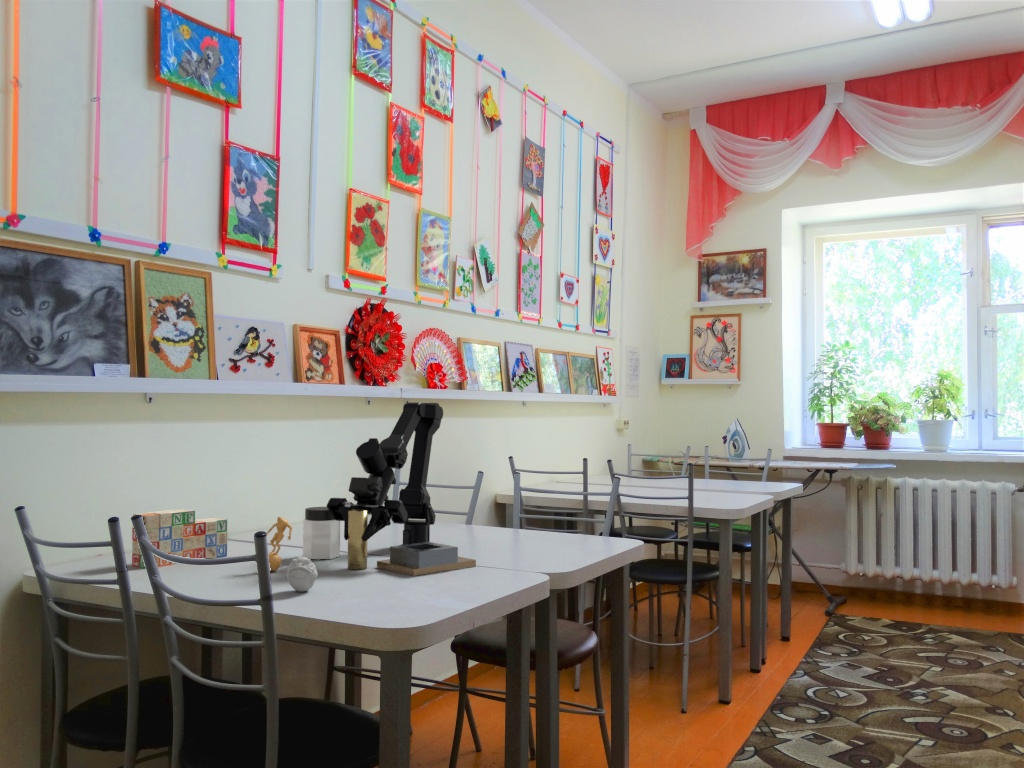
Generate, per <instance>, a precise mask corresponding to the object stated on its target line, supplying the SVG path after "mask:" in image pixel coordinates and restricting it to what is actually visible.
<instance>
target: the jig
mask: <svg viewBox="0 0 1024 768" xmlns="http://www.w3.org/2000/svg"><path fill="white" fill-rule="evenodd" d="M458 549H459V548H458V546H452V545H450V544H449V545H447V544H443V543H436V542H433V541H432V542H431V541H430V542H422V543H414V544H406V545H401V544H399V545H392V546H389V558H388V559H382V560H377V561H376V568H378V569H382V570H386V571H390V572H394V573H399V574H403V575H407V576H411V577H418V576H422V575H423V576H424V575H431V574H437V573H441V572H442V571H443V572H449V571H453V570H455V569H456V570H461V568H462V569H467V568H466V567H468V568H474V567H473V566H475V567H477V560H476V559H474V558H467V557H465V556H459V550H458ZM436 572H437V573H436Z"/></svg>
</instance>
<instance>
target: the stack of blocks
mask: <svg viewBox="0 0 1024 768" xmlns="http://www.w3.org/2000/svg"><path fill="white" fill-rule="evenodd" d="M134 515H141V516H142V517H143V522H144V525H145V527H146V530H147V534H148V538H149V540H150V542H151V543H152V545H153V546H154V547H156V548H157V549H159V550H160V551H163V552H165V553H168V554H172V555H177V556H182V557H190V558H212V559H216V558H217V559H219V558H225V557H228V519H226V518H219V517H209V518H197V519H196V510H193V509H183V508H177V509H176V508H175V509H165V510H159V511H158V510H156V511H148V512H140V513H133V514H132V517H133V516H134ZM131 530H132V531H131V532H132V533H131V536H132V537H131V539H132V543H131V545H132V548H131V549H132V555H131V565H132V567H136V568H142V569H145V566H144V562H143V558H142V554H141V551H140V548H139V545H138V541H137V537H136V534H135V531H134V528H133V526H132V527H131ZM154 558H155V561H156V563H157V566H158V567H157V568H161V567H166V566H174V565H177V564H176V563H172V562H169V561H166V560H163V559H161V558H159V557H157V556H155V555H154Z"/></svg>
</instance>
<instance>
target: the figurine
mask: <svg viewBox="0 0 1024 768" xmlns="http://www.w3.org/2000/svg"><path fill="white" fill-rule="evenodd" d="M274 528H276V532H275V533H274V535H273V537H272V538H271V540H270V545H271V546H272V547H273V548H272V550H271V551H270V552H269V553H267V555H268V556H269V563H270V568H271V571H270V572H276V571H277V570H279V569H280V567H282V566H281V565H282V558H281V557H280V555H279V554H278V553H279V552H280V549H281V544H280V543H281V541H283V539H284V537H285V534H284V532H285V530H286V529H287V528H289V531H288V536H287V538H286V539H287V540H291V538H292V531H293V530H292V529H293V527H292V526H291V524H290V523H289V520H287V519H286V518H282V517H281V516H278V517H277V519H276V523H273V524H272V526H271V527H270V528H269V529H268V530H267V532H266V534H265V535H266V537H267V535H268V534H269V533H271V531H272V530H274ZM276 549H277V550H276Z"/></svg>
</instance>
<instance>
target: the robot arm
mask: <svg viewBox="0 0 1024 768" xmlns="http://www.w3.org/2000/svg"><path fill="white" fill-rule="evenodd" d="M443 418H444V409H443V407H442V406H440V404H439V402H419V401H418V402H417V401H416V402H415V401H414V402H406V403H404V405H403V407H402V412H401V414H400V416H399V418H398V420H397V422H396V423H395V425H394V427H393V429H392V431H391V433H390V435H389V436H388V437H386V438H384V439H383V440H381V441H380V442H379V439H378V438H376V437H375V438H374V437H373V438H372V437H371V438H370V437H369V438H368V441H366V442H365V441H364V442H363V443H361V445H359V446H357V448H356V450H355V454H356V457H357V459H358V461H359V463H360V465H361V467H362V468H363V471H364V473H365V474H368V477H356V476H354V477H351V478H350V483H349V487H348V492H349V493H352V494H353V500H354V501H355V502H356V503H353V502H352V501H348V500H347V498H346V497H331V498H329V499H328V502H327V504H326V506H325V507H327V508H328V509H329V511H330V513H331V515H332V517H333V518H334V519H335V520H337V521H340V522H344V525H343V527H344V528H343V529H344V530H343V531H344V532H343V538H344V540H345V541H348V510H358V509H361V510H368V516H371V517H370V519H369V521H368V526H367V528H366V530H365V533H364V536H363V540H364V541H367V542H368V540H370V538H371V537H374V535H376V534H377V533H378V532H380V531H381V530H382V529H384V528H386V527H388V526H391V523H393V524H399V525H402V524H403V530H402V544H400V545H406V544H414V543H422V542H431V541H430V539H431V537H430V533H431V532H430V530H431V529H430V528H431V527H430V526H432V525H435V523H436V514H435V511H434V509H433V506H432V504H431V496H430V493H429V491H428V489H427V482H428V474H429V466H430V458H431V452H432V444H433V437H434V435H435V434H436V432H437V431H438V430H439V428H440V427H441V422H442V419H443ZM413 434H414V439H413V446H412V447H413V448H412V453H411V461H410V469H409V476H408V483H407V485H406V486H405V487H404V488H401V489H400V491H399V492H398V493H399V495H398V496H399V497H398V499H389V496H388V494H389V493H388V492H389V490H390V488H391V486H392V485H396V484H397V479H396V477H395V471H394V469H397V470H398V469H402V468H404V466H405V464H406V463H407V460H408V455H409V453H408V450H407V446H408V445H409V442H410V440H411V439H412V435H413Z"/></svg>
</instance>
